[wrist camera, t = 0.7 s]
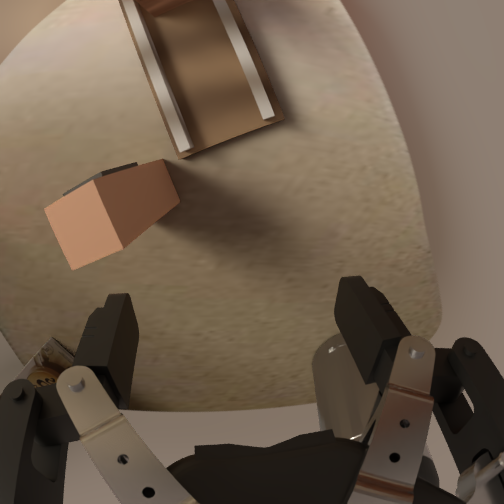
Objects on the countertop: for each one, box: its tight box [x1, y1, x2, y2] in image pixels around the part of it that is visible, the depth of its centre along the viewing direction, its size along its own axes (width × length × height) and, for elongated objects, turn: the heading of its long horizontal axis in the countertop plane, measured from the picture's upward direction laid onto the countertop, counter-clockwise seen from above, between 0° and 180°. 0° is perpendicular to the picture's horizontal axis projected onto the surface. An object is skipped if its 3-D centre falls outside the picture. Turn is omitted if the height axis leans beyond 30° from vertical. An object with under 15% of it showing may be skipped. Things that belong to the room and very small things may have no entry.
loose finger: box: [44, 159, 180, 270], centre depth 24 cm, size 5×4×13 cm
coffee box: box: [0, 337, 74, 399], centre depth 32 cm, size 9×6×16 cm
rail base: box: [119, 0, 285, 160], centre depth 18 cm, size 19×10×14 cm, turn 20°
